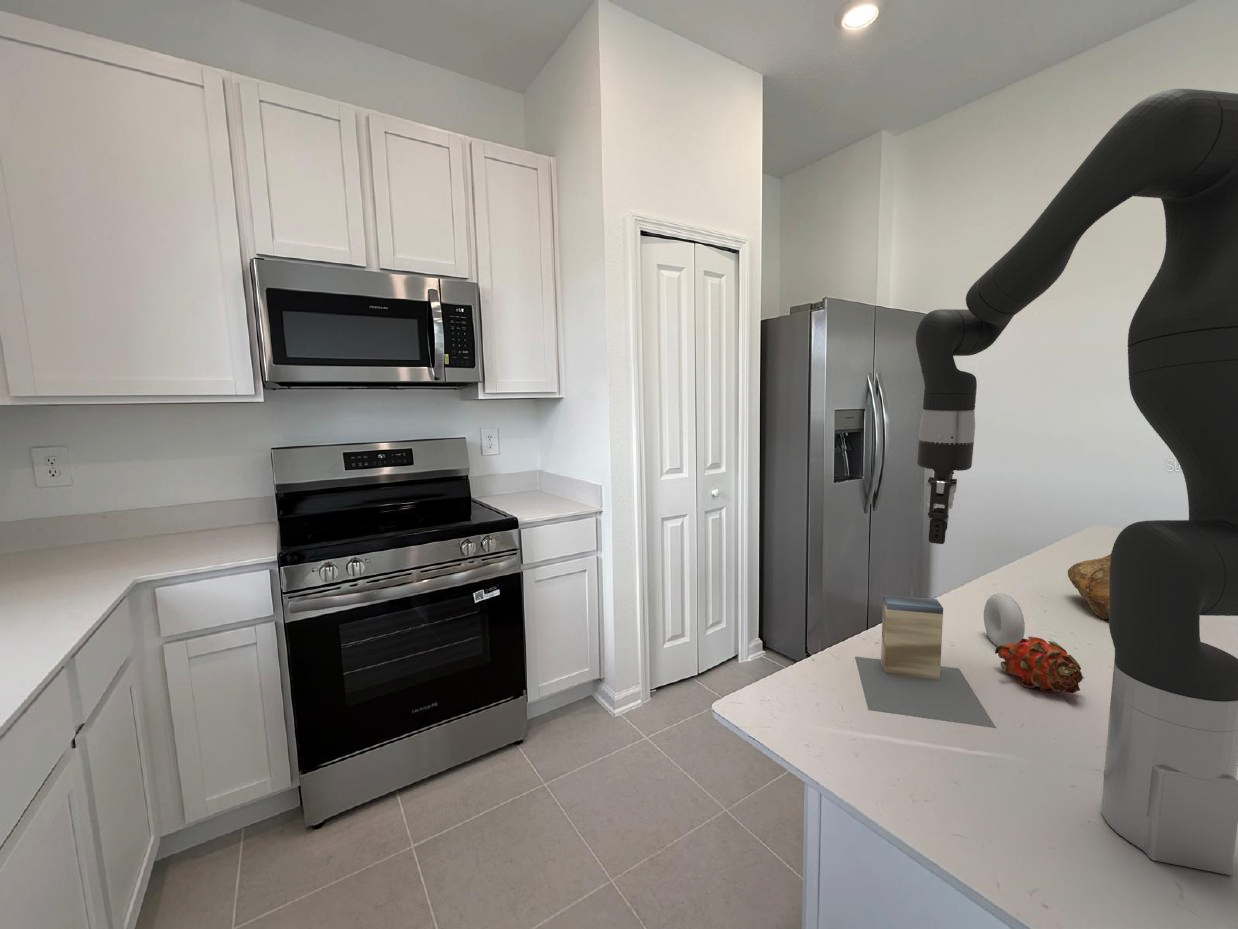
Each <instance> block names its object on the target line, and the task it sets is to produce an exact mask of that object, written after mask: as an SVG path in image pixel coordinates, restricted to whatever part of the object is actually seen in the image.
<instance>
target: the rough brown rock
mask: <svg viewBox="0 0 1238 929" xmlns="http://www.w3.org/2000/svg"><path fill="white" fill-rule="evenodd" d="M1110 559H1111V553H1110V554H1108V555H1106V556H1103V557H1100V558H1094V559H1088V560H1083V561H1080V562H1077V563H1075V564H1073V565H1071V566H1070V567H1069V568H1068V569H1067V577H1068V578H1069V582H1071V585H1073V587H1074V588H1075V589H1077V591H1078V593H1079V595H1080V596H1081V597H1082V598H1083V600H1084V601H1086V602H1087V603H1088V606H1089V607H1090V608H1091V610H1092V611H1093V613H1095V615H1097V617H1099V618H1100V619H1102V620H1109V586H1110Z"/></svg>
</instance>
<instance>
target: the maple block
mask: <svg viewBox="0 0 1238 929" xmlns="http://www.w3.org/2000/svg"><path fill="white" fill-rule="evenodd" d="M882 595H883V596H882V599H883V600H882V618H881V619H882V620H881V627H882V628H881V648H880V651H881V652H880V659H881V664H882V667H883V670H884V672H885V673H886V674H894V675H903V676H911V677H919V678H927V679H936V680H940V666H942V663H941V661H942V645H943V644H942V642H943V625H944V623H943V621H944V607H943V605H941V602H939V600H938V599H937V598H924V597H915V596H914V597H913V596H901V595H888V594H882Z"/></svg>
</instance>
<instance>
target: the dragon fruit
mask: <svg viewBox="0 0 1238 929" xmlns="http://www.w3.org/2000/svg"><path fill="white" fill-rule="evenodd" d="M994 654H995V655H996V654H997V655H998V658H1000V659H1003V661H1000V667H1001V669H1002V672H1003V673H1004V674H1009V675H1012V676H1013V675H1014V676H1018V677H1019V678H1020V679H1021V682H1020V683H1021V686H1022V687H1025V688H1028V689H1035V687H1038V688H1039V689H1040V691H1041V692H1043V691H1044V692H1045V691H1046V692H1047V693H1049V694H1051V693H1057V692H1058V693H1062V692H1065V693H1069V694H1074V693H1077V692H1080V691H1081V689H1080V686H1079V685H1080V683H1081V682H1082V681H1083V679H1084V678H1085V677H1084V675H1083V674H1082V672H1081V670H1082V667H1081V665H1080V664H1079V662H1078V661H1077V659H1075V657H1074V656H1073V655H1071V654H1068V652H1067V650H1066V649H1064V647H1062V646H1061V645H1060V644H1058V643H1057V642H1055V641H1051V640H1048V641H1047V640H1045V639H1043V638H1040V637H1037V636H1036V637H1035V636H1028V637H1027V638H1025V637H1024V638H1023V639H1021V641H1020V642H1019V643H1016V644H1015V643H1010V644H1007V645H1001V646H999V647H998V646H997V647H996V648H995V649H994Z"/></svg>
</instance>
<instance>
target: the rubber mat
mask: <svg viewBox="0 0 1238 929" xmlns="http://www.w3.org/2000/svg"><path fill="white" fill-rule="evenodd" d="M854 658H855V662H856V666H857V670H858V674H859V678H860V682H861V686H862V689H863V694H864V698H865V702H866V706H867V710H868V711H874V712H880V713H887V714H892V715H893V714H894V715H902V716H907V717H908V716H910V717H913V718H923V719H930V720H937V721H943V722H950V723H957V724H965V725H971V726H980V727H985V728H986V727H987V728H994V729H996V728H997V727H996V725H995V723H994V722H993V720H992V719H991V717H990V715H989V714H988V712H987V711H986V709H985V708H984V707H983V704H982V703H981V701H980V700H979V698H978V696H977V695H976V693H975V691H974V689H972V687H971V685H970V683H968V680H967V679H966V677H965V676H964V674H963V673H962V671H961V669H960V668H958V667H950V666H942V665H940V680H936V679H927V678H919V677H911V676H903V675H894V674H886V673H885V672H884V670H883V667H882V664H881V658H874V657H873V658H871V657H865V656H864V657H863V656H861V657H860V656H855V657H854Z"/></svg>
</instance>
